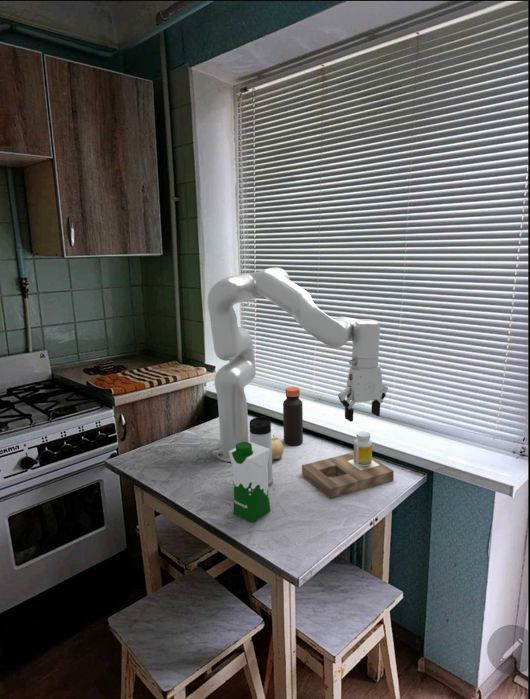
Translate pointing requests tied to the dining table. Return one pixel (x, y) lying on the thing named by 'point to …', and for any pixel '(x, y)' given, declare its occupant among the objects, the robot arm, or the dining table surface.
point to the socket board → (345, 475)
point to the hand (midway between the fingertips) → (362, 417)
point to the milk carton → (250, 480)
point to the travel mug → (262, 438)
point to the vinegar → (293, 417)
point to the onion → (276, 448)
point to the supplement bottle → (363, 449)
